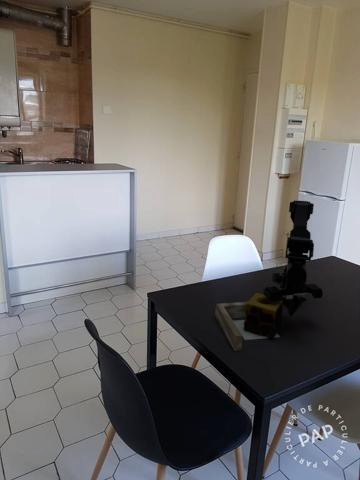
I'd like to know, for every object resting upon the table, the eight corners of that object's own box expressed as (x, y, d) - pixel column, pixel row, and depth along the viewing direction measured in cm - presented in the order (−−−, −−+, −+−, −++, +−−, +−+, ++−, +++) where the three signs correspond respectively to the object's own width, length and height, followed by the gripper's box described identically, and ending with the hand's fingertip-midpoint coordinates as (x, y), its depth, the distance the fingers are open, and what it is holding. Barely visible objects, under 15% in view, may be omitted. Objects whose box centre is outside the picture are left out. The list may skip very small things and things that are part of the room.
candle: (272, 340, 117) (276, 311, 114) (242, 330, 122) (245, 303, 119) (281, 326, 126) (285, 299, 123) (253, 318, 131) (255, 292, 128)
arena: (268, 312, 135) (269, 300, 134) (296, 345, 115) (298, 330, 114) (215, 316, 131) (215, 303, 130) (234, 350, 112) (236, 336, 110)
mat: (264, 318, 131) (264, 318, 131) (279, 337, 119) (280, 336, 119) (232, 321, 128) (232, 320, 128) (244, 340, 117) (244, 339, 117)
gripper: (308, 262, 130) (303, 302, 134) (258, 265, 126) (254, 306, 131) (326, 274, 119) (320, 317, 124) (273, 277, 116) (268, 322, 120)
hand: (290, 315), depth 125 cm, fingers closed
